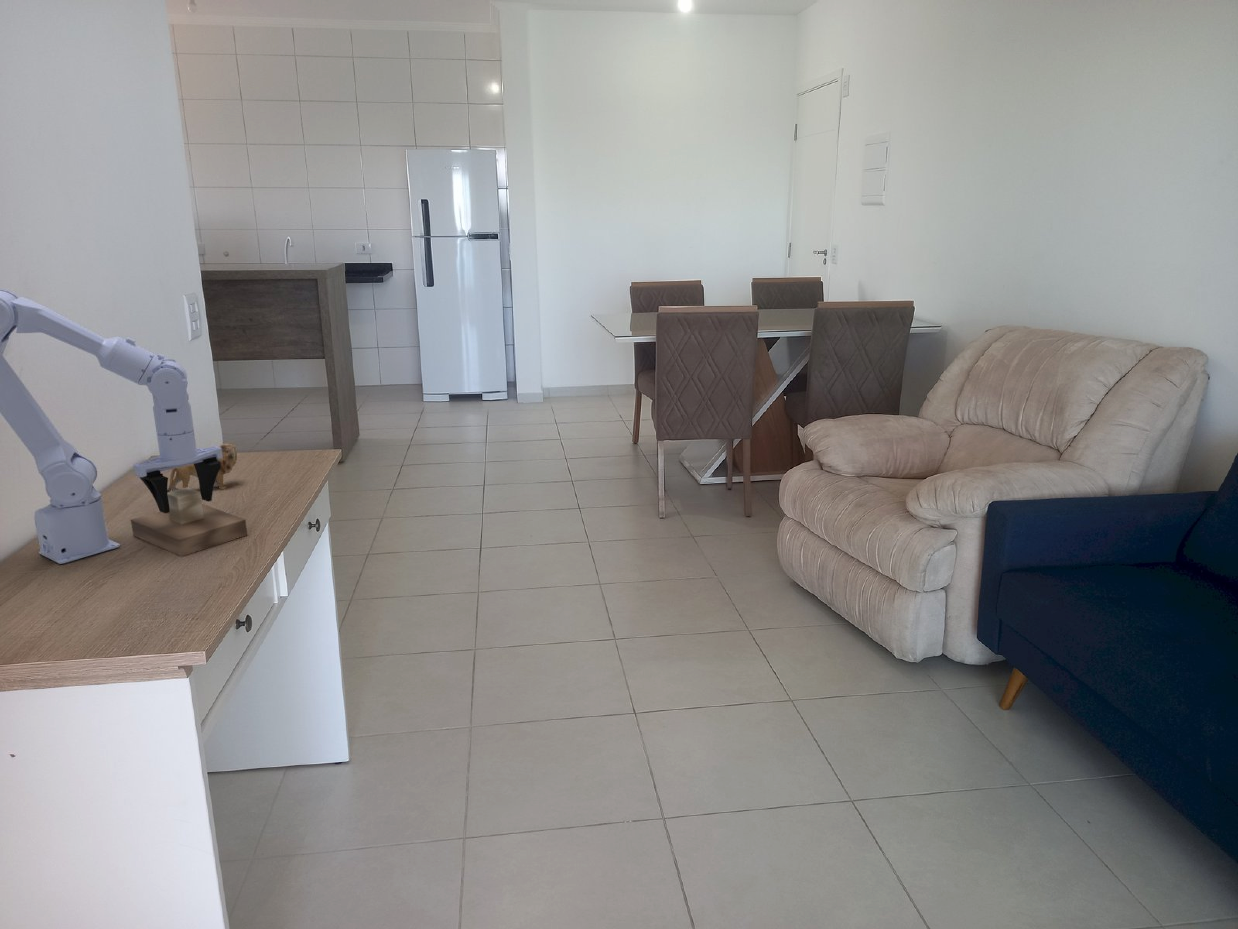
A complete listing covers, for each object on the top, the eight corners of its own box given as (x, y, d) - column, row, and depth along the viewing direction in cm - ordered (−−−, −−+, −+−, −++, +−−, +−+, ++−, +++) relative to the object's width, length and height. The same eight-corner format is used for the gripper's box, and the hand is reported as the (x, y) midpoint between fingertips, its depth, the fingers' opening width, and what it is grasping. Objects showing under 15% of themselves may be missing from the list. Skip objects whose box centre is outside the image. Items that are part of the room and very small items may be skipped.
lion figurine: (236, 480, 180) (231, 439, 177) (244, 486, 176) (239, 445, 173) (161, 493, 171) (155, 451, 168) (168, 500, 167) (162, 457, 164)
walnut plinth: (181, 556, 140) (179, 539, 139) (133, 535, 148) (130, 519, 148) (247, 535, 149) (245, 519, 148) (198, 516, 158) (196, 501, 157)
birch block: (181, 524, 146) (177, 497, 144) (169, 519, 148) (165, 493, 146) (203, 518, 149) (199, 491, 147) (191, 513, 151) (187, 487, 149)
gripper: (203, 420, 151) (212, 491, 155) (119, 436, 140) (132, 512, 144) (225, 425, 147) (234, 498, 151) (141, 443, 136) (153, 521, 140)
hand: (186, 505), depth 147 cm, fingers open, 7 cm apart
